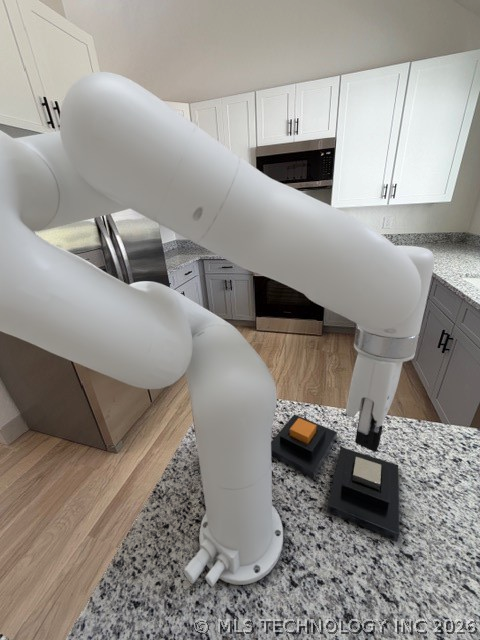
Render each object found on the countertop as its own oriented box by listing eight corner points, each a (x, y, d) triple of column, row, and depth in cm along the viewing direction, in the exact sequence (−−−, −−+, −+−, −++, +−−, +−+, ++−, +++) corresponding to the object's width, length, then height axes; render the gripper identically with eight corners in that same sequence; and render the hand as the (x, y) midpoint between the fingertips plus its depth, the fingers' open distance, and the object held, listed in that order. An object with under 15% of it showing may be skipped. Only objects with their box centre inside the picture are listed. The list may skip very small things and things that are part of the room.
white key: (378, 492, 44) (380, 484, 43) (352, 482, 45) (353, 474, 45) (379, 472, 47) (381, 464, 46) (354, 464, 49) (355, 456, 48)
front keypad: (397, 542, 40) (401, 526, 38) (326, 512, 44) (328, 496, 43) (397, 471, 50) (400, 457, 49) (340, 453, 55) (341, 439, 54)
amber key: (307, 444, 53) (308, 437, 53) (289, 436, 56) (289, 428, 55) (316, 432, 56) (316, 425, 56) (298, 424, 59) (298, 417, 58)
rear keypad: (313, 479, 50) (314, 464, 48) (266, 453, 56) (266, 440, 54) (336, 438, 58) (337, 425, 57) (294, 419, 64) (294, 407, 63)
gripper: (369, 319, 45) (356, 410, 51) (337, 353, 34) (326, 464, 40) (423, 328, 41) (402, 427, 47) (406, 371, 30) (381, 493, 36)
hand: (366, 444), depth 44 cm, fingers closed
